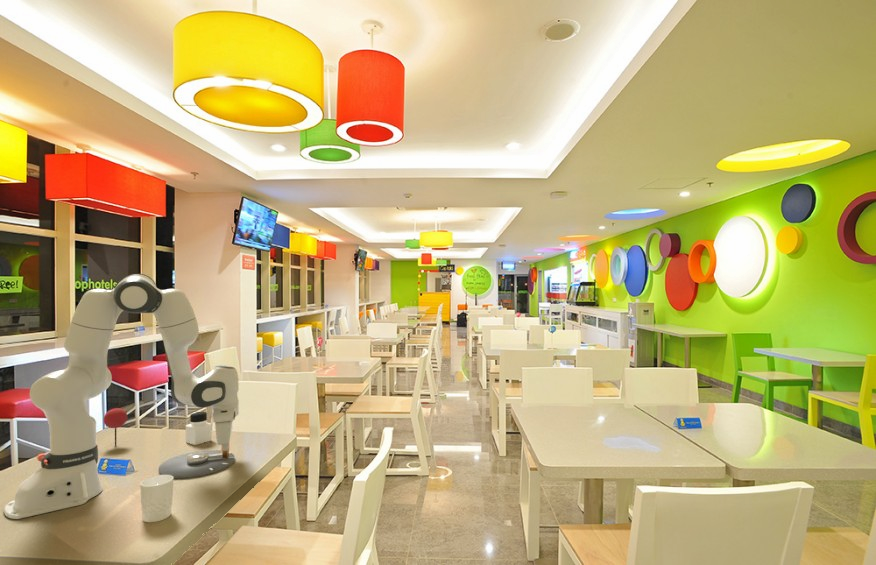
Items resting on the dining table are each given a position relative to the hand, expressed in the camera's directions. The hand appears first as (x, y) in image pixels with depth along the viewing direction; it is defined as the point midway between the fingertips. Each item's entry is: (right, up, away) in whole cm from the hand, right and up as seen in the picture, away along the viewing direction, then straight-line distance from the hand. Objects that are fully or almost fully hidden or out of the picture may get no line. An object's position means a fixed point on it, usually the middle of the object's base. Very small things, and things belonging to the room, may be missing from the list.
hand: (225, 449), depth 167 cm
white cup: (-1, -5, -38) cm, 39 cm away
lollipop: (-54, -6, +21) cm, 58 cm away
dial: (-6, -4, +1) cm, 7 cm away
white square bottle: (-23, -6, +26) cm, 35 cm away
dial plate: (-10, -5, -1) cm, 11 cm away
